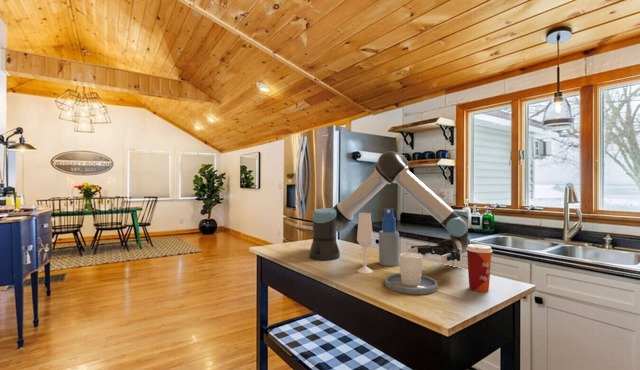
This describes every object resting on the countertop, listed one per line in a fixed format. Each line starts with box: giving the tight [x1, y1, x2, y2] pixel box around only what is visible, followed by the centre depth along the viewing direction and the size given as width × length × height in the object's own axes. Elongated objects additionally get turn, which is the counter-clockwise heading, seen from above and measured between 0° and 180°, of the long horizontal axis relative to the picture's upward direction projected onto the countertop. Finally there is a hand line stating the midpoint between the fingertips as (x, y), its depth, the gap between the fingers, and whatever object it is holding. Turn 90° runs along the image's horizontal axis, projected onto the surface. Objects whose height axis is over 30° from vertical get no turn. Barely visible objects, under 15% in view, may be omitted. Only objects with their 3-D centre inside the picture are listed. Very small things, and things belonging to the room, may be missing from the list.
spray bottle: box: [378, 207, 400, 267], centre depth 143 cm, size 9×9×25 cm
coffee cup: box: [466, 243, 494, 293], centre depth 110 cm, size 8×8×15 cm
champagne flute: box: [356, 212, 374, 274], centre depth 131 cm, size 7×7×24 cm
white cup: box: [399, 252, 424, 286], centre depth 113 cm, size 8×8×10 cm
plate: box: [384, 272, 439, 296], centre depth 113 cm, size 18×18×2 cm
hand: (424, 256), depth 120 cm, fingers open, 13 cm apart
